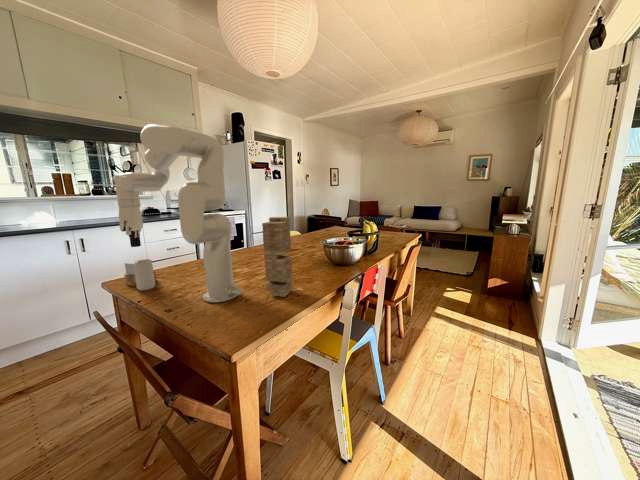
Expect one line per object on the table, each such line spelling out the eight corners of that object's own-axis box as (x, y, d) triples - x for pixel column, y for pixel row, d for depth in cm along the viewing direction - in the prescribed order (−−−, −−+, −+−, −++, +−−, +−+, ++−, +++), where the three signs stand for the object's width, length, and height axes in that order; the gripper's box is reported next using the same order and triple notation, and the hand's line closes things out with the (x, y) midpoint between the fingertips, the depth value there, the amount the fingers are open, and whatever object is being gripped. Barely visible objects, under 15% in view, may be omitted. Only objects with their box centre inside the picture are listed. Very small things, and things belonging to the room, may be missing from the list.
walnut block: (156, 280, 116) (154, 270, 115) (139, 287, 108) (137, 275, 107) (143, 279, 118) (141, 269, 117) (126, 285, 111) (124, 274, 110)
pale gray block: (153, 270, 115) (151, 259, 114) (138, 275, 108) (136, 264, 107) (141, 269, 117) (140, 259, 116) (126, 274, 110) (124, 263, 109)
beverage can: (134, 289, 105) (129, 261, 102) (150, 284, 110) (146, 258, 108) (142, 292, 102) (138, 263, 99) (159, 287, 107) (155, 259, 105)
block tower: (265, 296, 95) (260, 218, 90) (275, 287, 103) (271, 216, 98) (284, 298, 93) (281, 219, 88) (293, 289, 101) (290, 216, 96)
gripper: (128, 203, 113) (134, 243, 117) (108, 205, 99) (116, 250, 102) (147, 203, 115) (152, 242, 118) (130, 204, 100) (137, 249, 104)
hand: (136, 246), depth 110 cm, fingers closed
